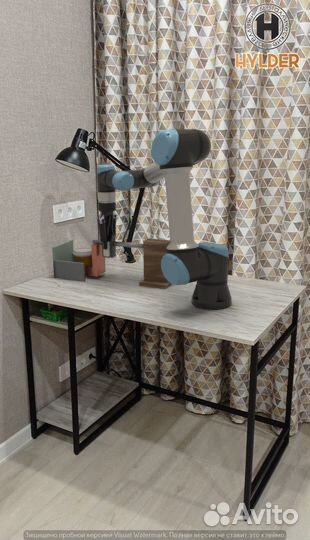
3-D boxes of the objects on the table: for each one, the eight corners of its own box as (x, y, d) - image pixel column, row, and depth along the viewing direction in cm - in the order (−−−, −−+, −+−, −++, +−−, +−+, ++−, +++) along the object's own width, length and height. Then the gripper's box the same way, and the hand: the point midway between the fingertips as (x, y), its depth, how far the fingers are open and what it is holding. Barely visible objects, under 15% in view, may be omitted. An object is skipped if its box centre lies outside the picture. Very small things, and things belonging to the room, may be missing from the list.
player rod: (151, 282, 224) (151, 239, 219) (87, 275, 235) (85, 234, 230) (158, 277, 231) (158, 235, 226) (95, 270, 242) (94, 230, 237)
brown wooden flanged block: (165, 289, 220) (166, 244, 215) (139, 286, 225) (138, 242, 219) (175, 281, 231) (175, 238, 226) (149, 278, 235) (149, 236, 230)
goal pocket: (83, 281, 231) (82, 250, 228) (54, 277, 237) (52, 247, 233) (101, 271, 246) (100, 242, 242) (72, 268, 251) (71, 239, 248)
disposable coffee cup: (96, 272, 244) (96, 247, 241) (92, 278, 235) (91, 252, 232) (76, 272, 245) (75, 247, 242) (71, 278, 236) (70, 252, 233)
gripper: (107, 198, 235) (109, 250, 242) (89, 204, 221) (92, 258, 227) (123, 199, 233) (124, 251, 239) (106, 204, 218) (108, 260, 224)
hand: (108, 255), depth 233 cm, fingers closed on player rod, 3 cm apart
